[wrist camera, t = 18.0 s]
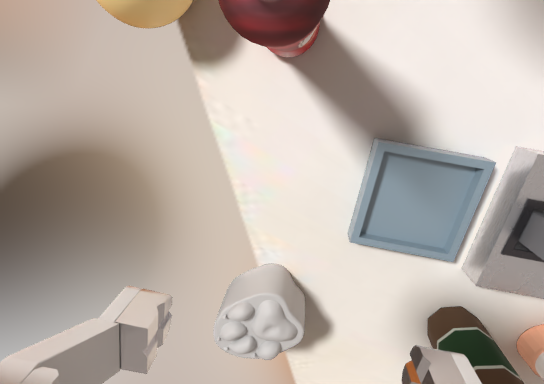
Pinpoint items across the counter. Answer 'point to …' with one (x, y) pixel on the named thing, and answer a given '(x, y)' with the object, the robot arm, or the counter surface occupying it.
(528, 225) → the plug
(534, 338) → the pepper shaker
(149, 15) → the sculpture
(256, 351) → the lumpy-topped squat cylinder
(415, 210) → the tray
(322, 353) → the counter surface
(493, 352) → the beer bottle
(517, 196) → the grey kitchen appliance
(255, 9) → the liquor
